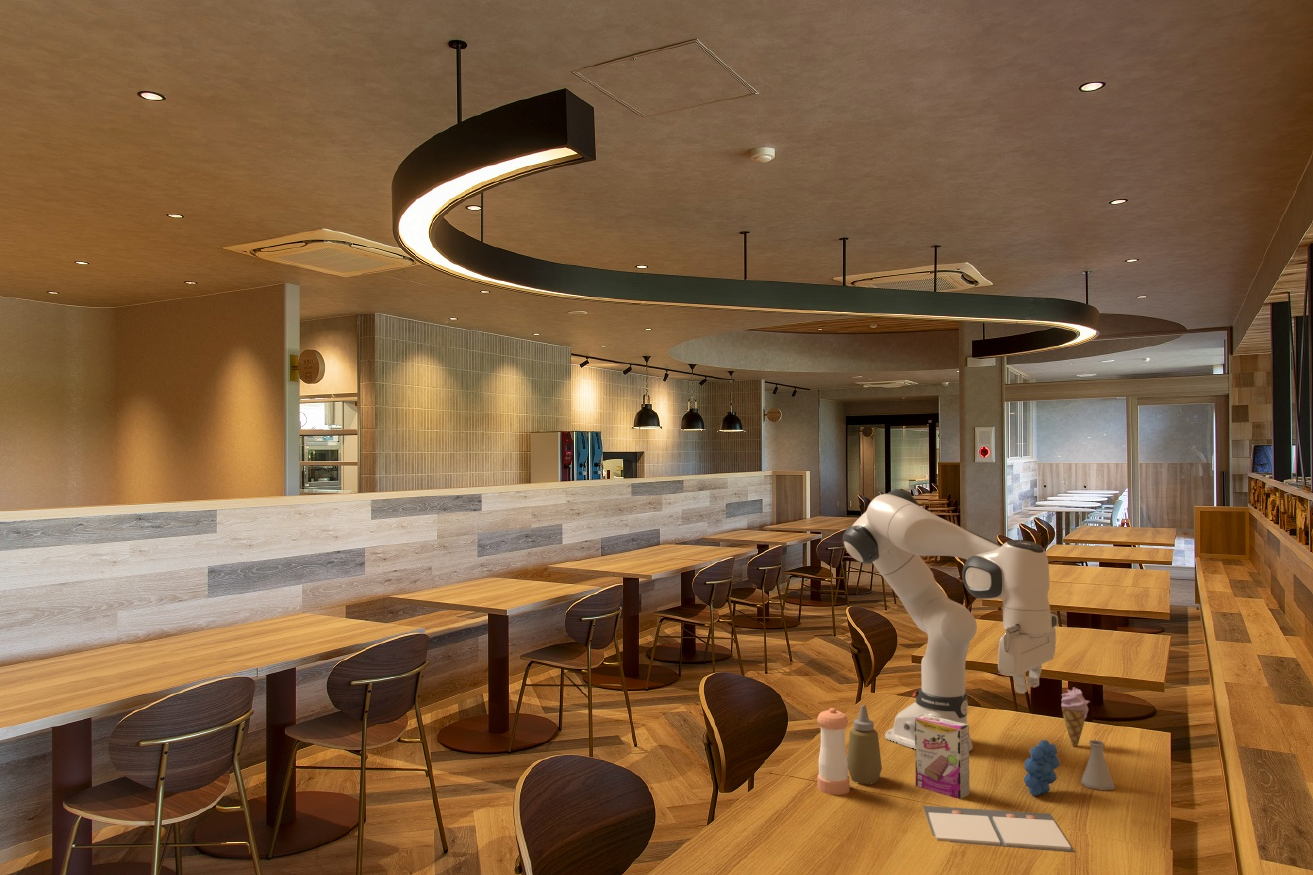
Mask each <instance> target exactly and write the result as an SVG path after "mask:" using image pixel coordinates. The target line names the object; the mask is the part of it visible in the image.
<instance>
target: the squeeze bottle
mask: <svg viewBox="0 0 1313 875" xmlns="http://www.w3.org/2000/svg"><path fill="white" fill-rule="evenodd" d="M874 725H875V724H874V720H873V719H870V718H869V714H868V710H867V706H866V705H863V704H862V705H860V709H859V714H858V717H857V718H856V719H853V728H852V729H850V730H849V736H848V746H847V747H848V749H847V760H848V774H849V776H850V779H851V781H852V782H854V783H856V782H858V783H857V784H860V783H863V784H862V785H872V784H871V783H874V784H876V783H875V782H877V783H878V781H879V779H880V775H881V772H882V769H883V767H882V758H881V752H880V751H881V749H880V740H879V733H878V732H877V730H875V726H874Z"/></svg>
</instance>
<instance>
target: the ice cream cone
mask: <svg viewBox="0 0 1313 875" xmlns="http://www.w3.org/2000/svg"><path fill="white" fill-rule="evenodd" d="M1066 690H1067V692H1066V693H1062V694H1061V697H1062V698H1061V705H1060V706H1061V711H1062V715H1063V719H1064V722H1065V725H1066V726H1065V727H1066V729H1067V734H1068V737H1069V740H1070V743H1071V746H1073V747H1078V746H1079V742H1080V740H1081V736H1082V732H1083V729H1084V724H1085V721H1086V719H1087V716H1088V712H1089V707H1088V704H1089V703H1091V701H1090V700H1088V699H1087V700H1086V699H1085V697H1084V695H1083V692H1082V690H1081V689H1078V688H1077V687H1072V689H1066Z"/></svg>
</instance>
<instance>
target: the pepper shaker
mask: <svg viewBox="0 0 1313 875" xmlns="http://www.w3.org/2000/svg"><path fill="white" fill-rule="evenodd" d="M816 719H817V720H816V721H817V725H819V727H820V749H819V757H818V774H817V777H816V780H817V781H816V782H817V783H816V784H817V785H816V786H817V787H816V788H817V789H818V790H819V791H820V792H821V793H823V794H827V795H834V796H837V795H840V796H841V795H847V794H848V793H850V777H849V776H850V775H848V774H849V770H848V760H847V758H848V753H847V750H846V734H845V732H846V731H845V730H846V728H847V727H848V724H849V719H848V717H847V715H846V714H845V713H843V712H841V711H840V710H836V708H834V707H830V708H829V709H828V710H827V709H826V710H824V711H821V712H819V714H818V716H817V718H816Z"/></svg>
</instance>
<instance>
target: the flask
mask: <svg viewBox="0 0 1313 875" xmlns="http://www.w3.org/2000/svg"><path fill="white" fill-rule="evenodd" d="M1089 745H1090V755H1089V757H1088V761H1087V764H1086V767H1085V769H1084V772H1083V775H1082V776H1081V782H1080V784H1082V785H1084V786H1085V787H1086V788H1088V789H1091V790H1092V789H1094V790H1099V791H1112V790H1115V783H1114V780H1113V777H1112V776H1111V773H1110V770H1109V767H1108V765H1107V762H1106V759H1105V754H1104V747H1105V742H1103V741H1102V740H1096V739H1094V740H1093V739H1092V740H1091V739H1089Z"/></svg>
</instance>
